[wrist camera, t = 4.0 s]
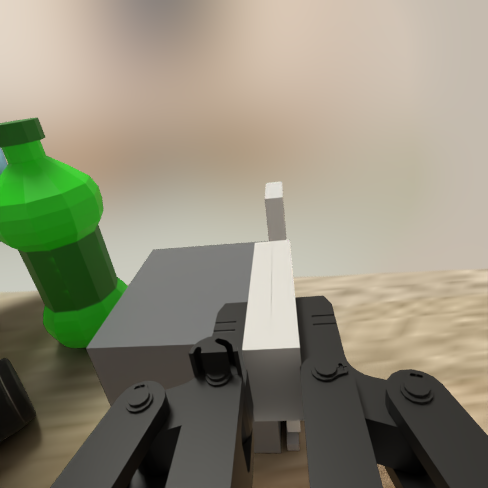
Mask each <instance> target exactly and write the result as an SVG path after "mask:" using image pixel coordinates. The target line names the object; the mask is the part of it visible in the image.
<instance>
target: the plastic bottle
mask: <svg viewBox="0 0 488 488" xmlns="http://www.w3.org/2000/svg"><path fill="white" fill-rule="evenodd" d="M43 138H45V135H44V132H43V130H42V127H41V125H40V122H39V120H38V118H30V119H24V120H17V121H11V122H5V123H0V148H2V150H3V152H4V155H5V157H6V159H7V161H8V165H7V167H6V168H5V169H4V171H3V172H2V174H1V175H0V241H1V242H3V243H5V244H6V245H9V246H10V247H12V248H15V249H18V251H19V253H20V255H21V257H22V259H23V261H24V263H25V265H26V267H27V269H28V271H29V273H30V275H31V277H32V279H33V281H34V283H35V285H36V287H37V290H38V292H39V294H40V296H41V298H42V300H43V302H44V304H45V307H44V313H43V324H44V326H45V328H46V330H47V332H48V333H49V334H50V335H52V336H53V337H54V338H55V339H56V340H58V341H59V342H60V343H62V344H63V345H64V346H66V347H69V348H87V346H88V345H89V343H90V342H91V340H92V339H93V337H94V336H95V334H96V333H97V331H98V330H99V329H100V327H101V326H102V324H103V323H104V321H105V320H106V318H107V317H108V315H109V314H110V312H111V311H112V309H113V308H114V306H115V305H116V304H117V302H118V301H119V299H120V298H121V296H122V295H123V293H124V292H125V290H126V289H127V287H128V286H127V285H126V284H125V283H124V282H123V281H122V280H120V279H119V278H118V277H116V273H115V271H114V268H113V265H112V262H111V259H110V257H109V254H108V251H107V248H106V245H105V242H104V240H103V237H102V234H101V231H100V229H99V226H98V223H99V221H100V219H101V215H102V213H103V202H102V196H101V193H100V190H99V187H98V186H97V184H96V183H95V182H94V181H93V180H92V179H91V177H90V176H89V175H87V174H85V173H83V172H81V171H79V170H77V169H75V168H73V167H71V166H69V165H67V164H64V163H62V162H60V161H58V160H55V159H53V158H51V157H48V156H46V155H45V152H44V149H43V147H42V144H41V142H40V140H41V139H43Z"/></svg>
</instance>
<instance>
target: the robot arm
mask: <svg viewBox="0 0 488 488" xmlns="http://www.w3.org/2000/svg"><path fill="white" fill-rule="evenodd" d="M6 167H7V162H6V159H5V156H4V153H3V151H2V149H1V148H0V175H1V174H2V172H3V171H4V169H5V168H6ZM0 242H1V241H0ZM188 354H189V358H190V362H191V365H192V369H193V373H194V379H192V380H191V381H189V382H187V383H185V384H182V385H180V386H177V387H173V388H170V389H167V390H165V389H164V388H163V387H162V385H161V384H160V383H157V382H155V381H143V382H140V383H136V384H134V385H132V386H131V387H129V388H127V389H126V390H125V391H124V392H123V393H122V394H121V395H120V396H119V397H118V398H117V400H116V401H115V402H114V404H113V405H112V406H111V408H110V409H109V410H108V412H107V413H106V414H105V416H104V417H103V418H102V420H101V421H100V422H99V424H98V425H97V426H96V428H95V429H94V430H93V432H92V433H91V434H90V435H89V437H88V438H87V439H86V441H85V442H84V443H83V445H82V446H81V447H80V449H79V450H78V451H77V453H76V454H75V455H74V457H73V458H72V459H71V461H70V462H69V463H68V465H67V466H66V467H65V469H64V470H63V471H62V473H61V474H60V475H59V476H58V478H57V479H56V480H55V482H54V483H53V484H52V486H51V487H50V488H252V478H253V459H254V434H253V428H252V424H253V414H254V420H255V421H300V420H304V422H305V434H306V446H307V458H308V470H309V482H310V488H383V486H382V482H381V478H380V474H379V470H378V467H377V464H380V465H383V466H385V469H386V471H387V473H388V474H389V476H390V478H391V480H392V482H393V484H394V486H395V488H488V435H487V434H486V433H485V432H484V431H483V430H482V429H481V427H480V426H479V425H478V424H477V423H476V422H475V421H474V420H473V418H472V417H471V416H470V415H469V414H468V413H467V412H466V410H465V409H464V408H463V407H462V406H461V405H460V404H459V402H458V401H457V400H456V399H455V398H454V397H453V396H452V395H451V393H450V392H449V391H448V390H447V389H446V388H445V387H444V385H443V384H441V383H440V382H439V381H438V380H437V379H436V378H434V377H433V376H431V375H429V374H426V373H424V372H422V371H417V370H412V369H409V370H399V371H397V372H395V373H393V374H391V376H390V377H389V378H388V379H387V380H384V379H380V378H375V377H371V376H368V375H364V374H363V373H361V372H359V371H357V370H356V369H354V368H353V367H352V366H351V365H350V364H349V363H348V362H347V360H346V357H345V355H344V351H343V347H342V343H341V339H340V335H339V331H338V327H337V324H336V319H335V316H334V311H333V307H332V304H331V303H330V302H329V301H328V300H327V299H326V298H325V297H324V296H313V297H298V298H295V291H294V280H293V270H292V259H291V248H290V240H280V241H269V242H258V243H255V246H254V255H253V263H252V271H251V280H250V288H249V297H248V302H238V303H225V304H224V306H223V307H222V308H221V309H220V310H219V311H218V313H217V317H216V322H215V326H214V330H213V334H212V336H211V337H207V338H205V339H202V340H200V341H198V342H197V343H196V344H195V345H194V346H193V347H192V348H191V350H190V352H189V353H188Z"/></svg>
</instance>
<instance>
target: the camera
mask: <svg viewBox="0 0 488 488" xmlns="http://www.w3.org/2000/svg"><path fill="white" fill-rule="evenodd" d="M35 417H36V412H35V410H34V407H33V405H32V403H31V401H30V399H29V397H28V395H27V393H26V391H25V389H24V387H23V385H22V383H21V381H20V379H19V377H18V375H17V373H16V371H15V370H14V368H13V366H12V364H11V363H10V361H9V360H8V359H7V358H3V359H1V360H0V442H1V441H2V440H4V439H5V438H7V437H9V436H11V435H12V434H14V433H16V432H17V431H19V430H20V429H22V428H23V427H24V426H25V425H26V424H27V423H28V422H29V421H31V420H32V419H34V418H35Z"/></svg>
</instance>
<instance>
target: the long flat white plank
mask: <svg viewBox="0 0 488 488" xmlns="http://www.w3.org/2000/svg"><path fill="white" fill-rule="evenodd" d="M283 203H284V202H283V190H282V182H273V183H266V190H265V207H266V216H267V225H268V236H269V241H280V240H286V228H285V215H284V204H283ZM287 430H288V432H301V426H300V421H287Z"/></svg>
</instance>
